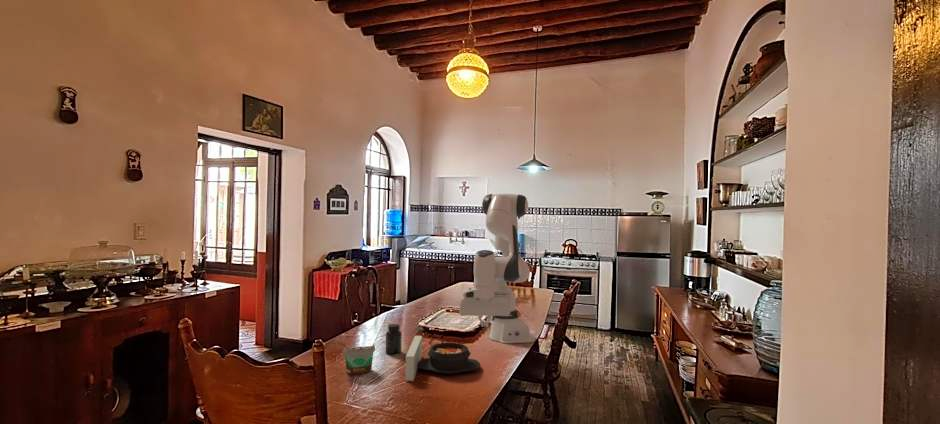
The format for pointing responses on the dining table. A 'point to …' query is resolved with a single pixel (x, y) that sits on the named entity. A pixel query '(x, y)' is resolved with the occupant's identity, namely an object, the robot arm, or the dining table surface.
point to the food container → (359, 360)
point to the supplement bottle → (393, 340)
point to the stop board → (413, 358)
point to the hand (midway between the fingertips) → (484, 326)
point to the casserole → (449, 359)
